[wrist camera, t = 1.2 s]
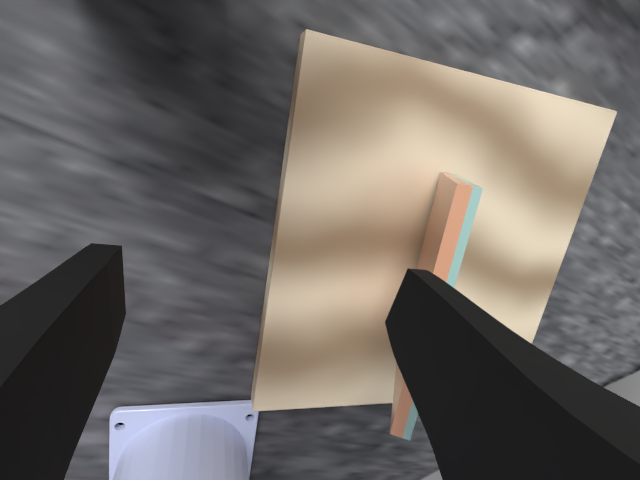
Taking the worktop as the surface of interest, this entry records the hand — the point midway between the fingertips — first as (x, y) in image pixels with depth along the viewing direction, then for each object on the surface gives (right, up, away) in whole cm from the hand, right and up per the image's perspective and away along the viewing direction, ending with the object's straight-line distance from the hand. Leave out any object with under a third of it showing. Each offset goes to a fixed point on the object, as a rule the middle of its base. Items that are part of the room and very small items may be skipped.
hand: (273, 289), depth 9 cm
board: (+8, 0, +13) cm, 15 cm away
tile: (+6, -1, +8) cm, 10 cm away
